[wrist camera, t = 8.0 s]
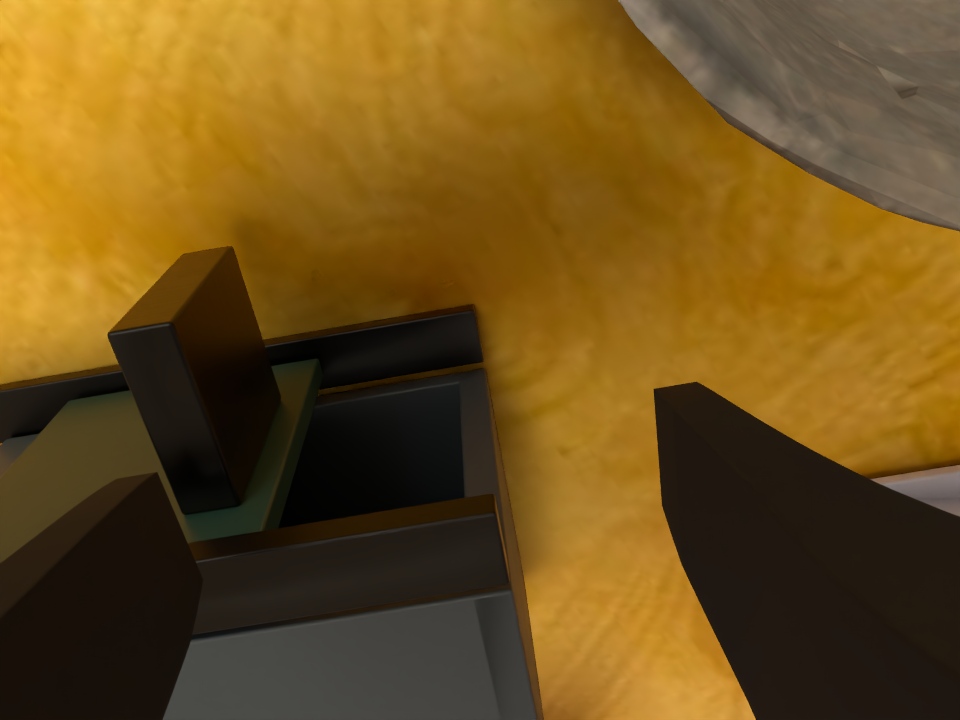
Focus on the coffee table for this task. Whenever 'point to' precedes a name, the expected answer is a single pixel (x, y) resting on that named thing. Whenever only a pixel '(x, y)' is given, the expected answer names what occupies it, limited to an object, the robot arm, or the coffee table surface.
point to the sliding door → (177, 415)
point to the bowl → (832, 88)
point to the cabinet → (358, 544)
